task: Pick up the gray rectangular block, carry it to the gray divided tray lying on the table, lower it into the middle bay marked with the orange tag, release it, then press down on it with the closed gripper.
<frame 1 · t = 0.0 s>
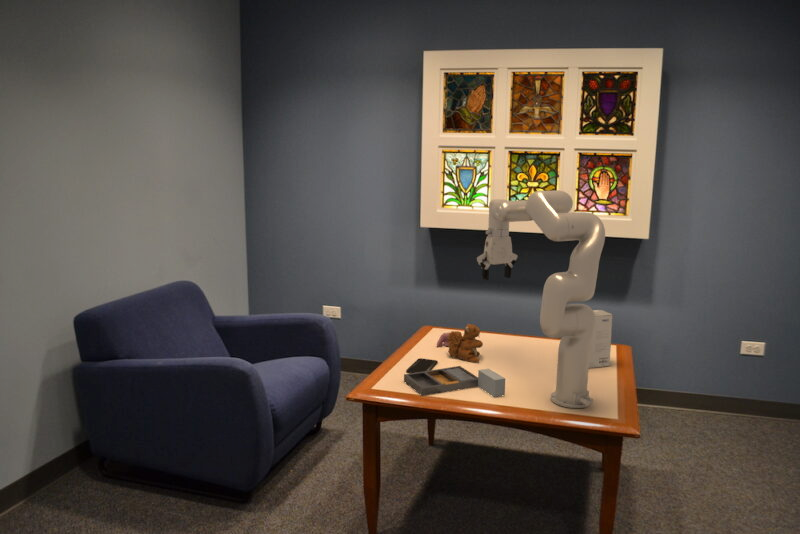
hand: (496, 278, 232), 31 cm above the table, tool pointing down, fingers open, 9 cm apart
gray rectangular block: (491, 391, 205), on the table
gray divided tray: (441, 383, 211), on the table
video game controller: (449, 348, 250), on the table
grey carton box: (586, 365, 231), on the table
stuffed squirrel: (464, 358, 238), on the table
phone: (422, 369, 226), on the table
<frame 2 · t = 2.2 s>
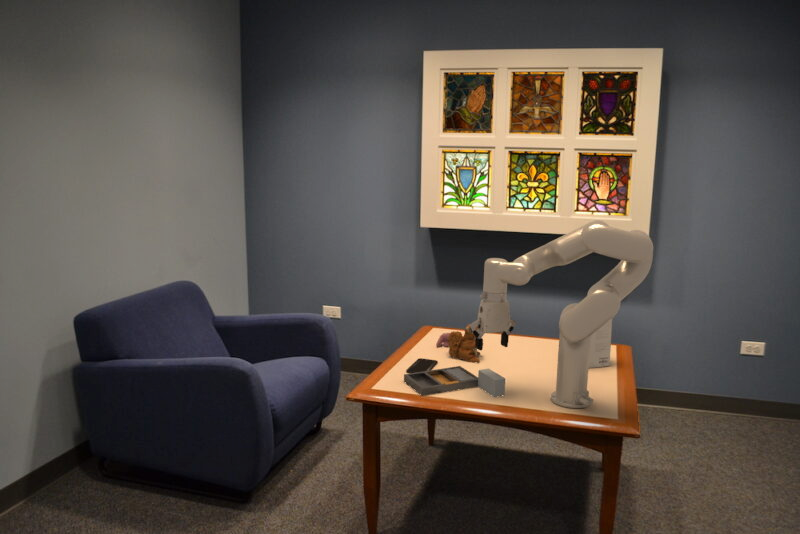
hand: (491, 347, 202), 15 cm above the table, tool pointing down, fingers open, 9 cm apart
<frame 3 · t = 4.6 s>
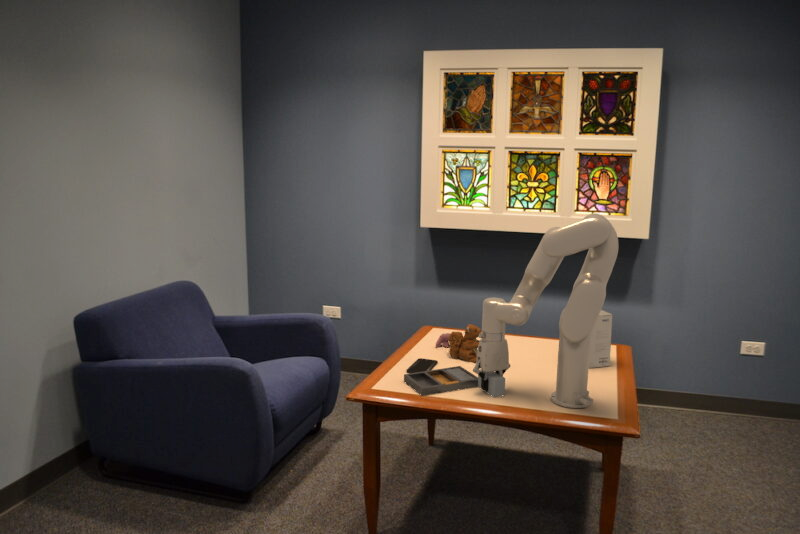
hand: (490, 388, 205), 1 cm above the table, tool pointing down, fingers closed on gray rectangular block, 4 cm apart
gray rectangular block: (490, 391, 205), on the table, touching gripper
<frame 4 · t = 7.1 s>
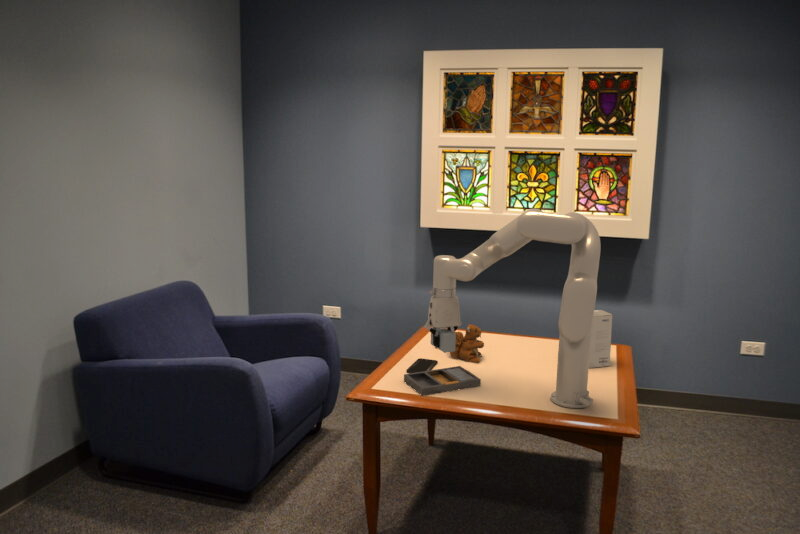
hand: (442, 345, 208), 14 cm above the table, tool pointing down, fingers closed on gray rectangular block, 4 cm apart
gray rectangular block: (442, 347, 208), point 13 cm above the table, touching gripper
when the fingers open (3 cm above the table, at t = 9.6 s): gray rectangular block drops 1 cm, resting on gray divided tray.
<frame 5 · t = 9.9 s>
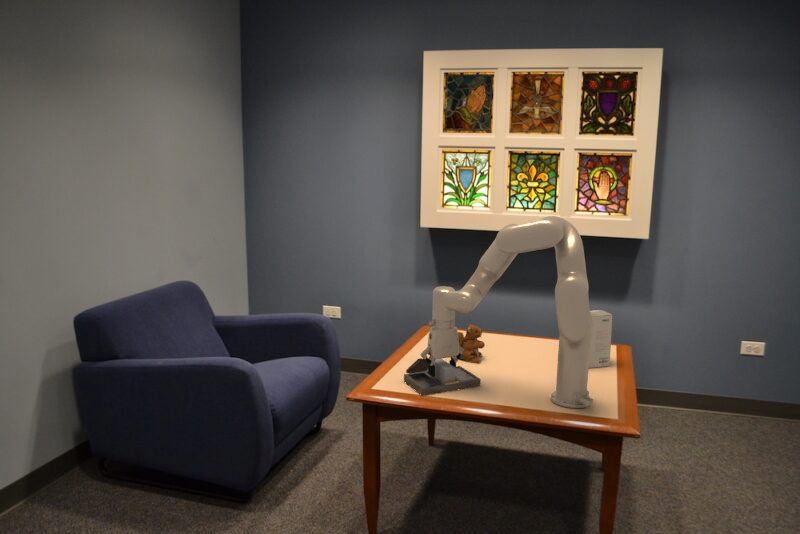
hand: (442, 373, 210), 4 cm above the table, tool pointing down, fingers open, 7 cm apart
gray rectangular block: (442, 380, 210), point 1 cm above the table, touching gray divided tray
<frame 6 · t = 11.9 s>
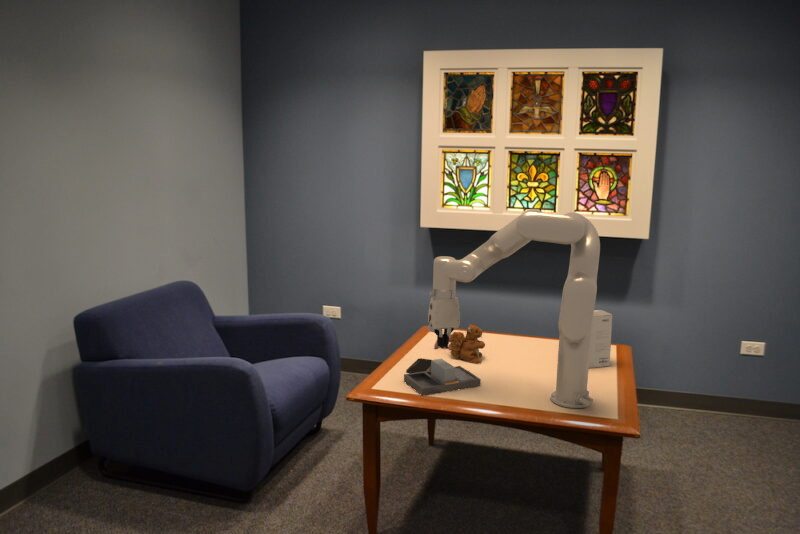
hand: (442, 346, 208), 13 cm above the table, tool pointing down, fingers closed
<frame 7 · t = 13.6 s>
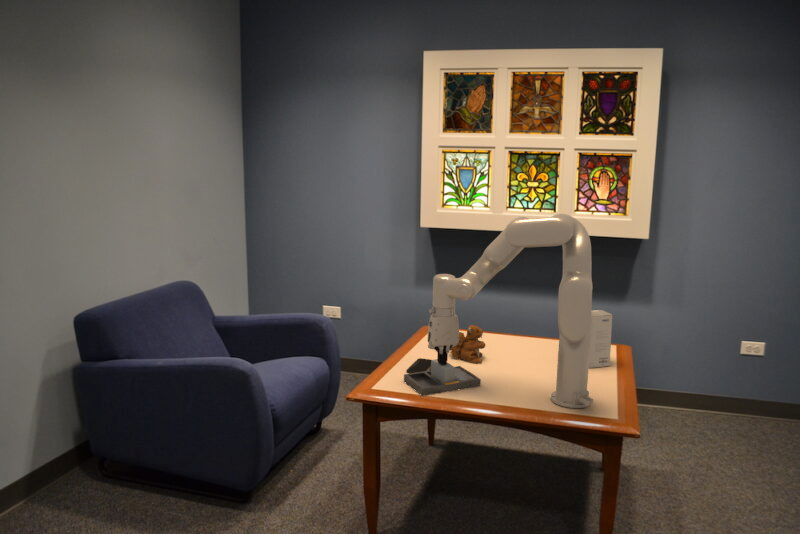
hand: (442, 363, 209), 7 cm above the table, tool pointing down, fingers closed
gray rectangular block: (442, 380, 210), point 1 cm above the table, touching gripper, gray divided tray
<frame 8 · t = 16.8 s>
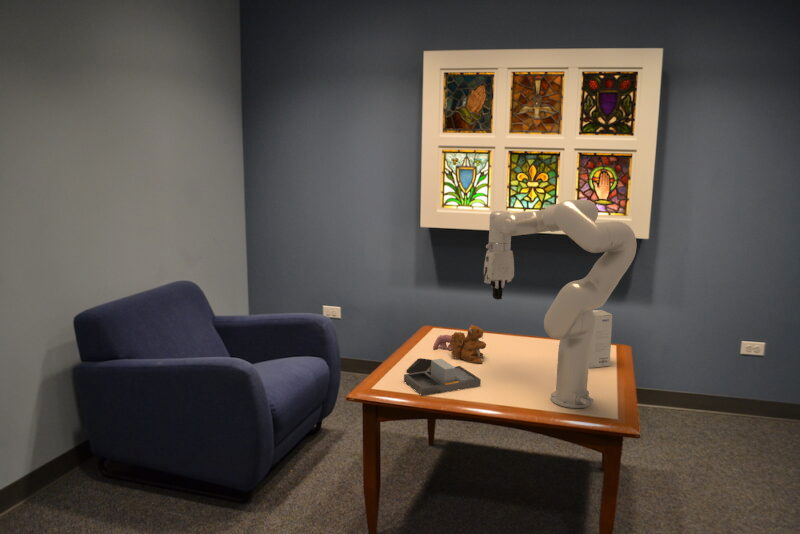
hand: (497, 298, 218), 27 cm above the table, tool pointing down, fingers closed
gray rectangular block: (442, 380, 210), point 1 cm above the table, touching gray divided tray
at the end: gray rectangular block 0.2 cm off-centre on the gray divided tray, point 1.1 cm above the gray divided tray's base; gray rectangular block tilted 0°; the gripper is holding nothing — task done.
